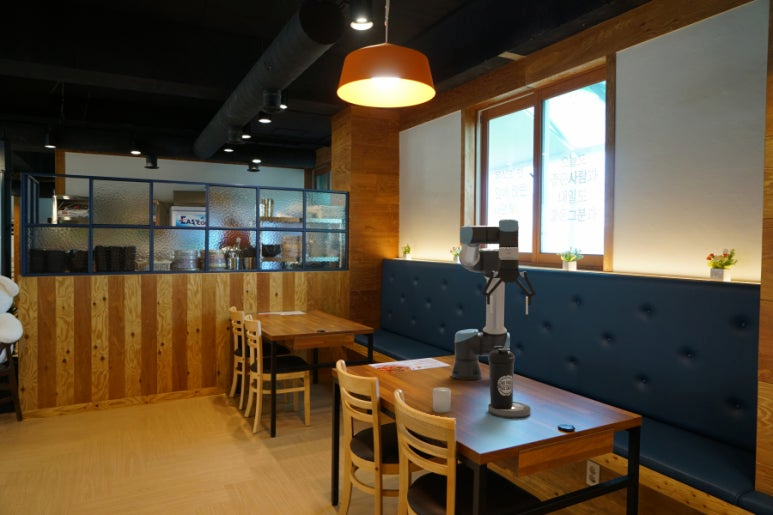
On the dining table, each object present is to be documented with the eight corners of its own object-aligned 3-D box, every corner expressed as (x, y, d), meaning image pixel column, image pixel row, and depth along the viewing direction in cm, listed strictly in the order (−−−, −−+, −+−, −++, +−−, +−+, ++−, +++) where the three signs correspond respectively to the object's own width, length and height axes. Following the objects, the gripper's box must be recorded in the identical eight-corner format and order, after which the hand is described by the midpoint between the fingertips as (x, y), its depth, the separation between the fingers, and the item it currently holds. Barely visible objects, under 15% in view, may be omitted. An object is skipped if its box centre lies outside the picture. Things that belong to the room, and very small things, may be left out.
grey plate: (489, 404, 211) (489, 399, 211) (530, 407, 207) (530, 402, 207) (487, 417, 196) (487, 411, 196) (530, 420, 192) (530, 414, 192)
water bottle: (495, 411, 196) (495, 350, 196) (484, 403, 206) (483, 345, 206) (519, 408, 198) (519, 349, 198) (507, 401, 208) (506, 344, 208)
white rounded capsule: (434, 406, 209) (434, 386, 209) (451, 407, 208) (451, 387, 207) (431, 411, 203) (431, 391, 202) (449, 413, 201) (449, 392, 201)
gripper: (475, 259, 201) (475, 313, 201) (542, 259, 194) (542, 315, 195) (477, 258, 208) (477, 311, 208) (541, 258, 202) (541, 312, 202)
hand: (508, 313), depth 201 cm, fingers open, 13 cm apart
